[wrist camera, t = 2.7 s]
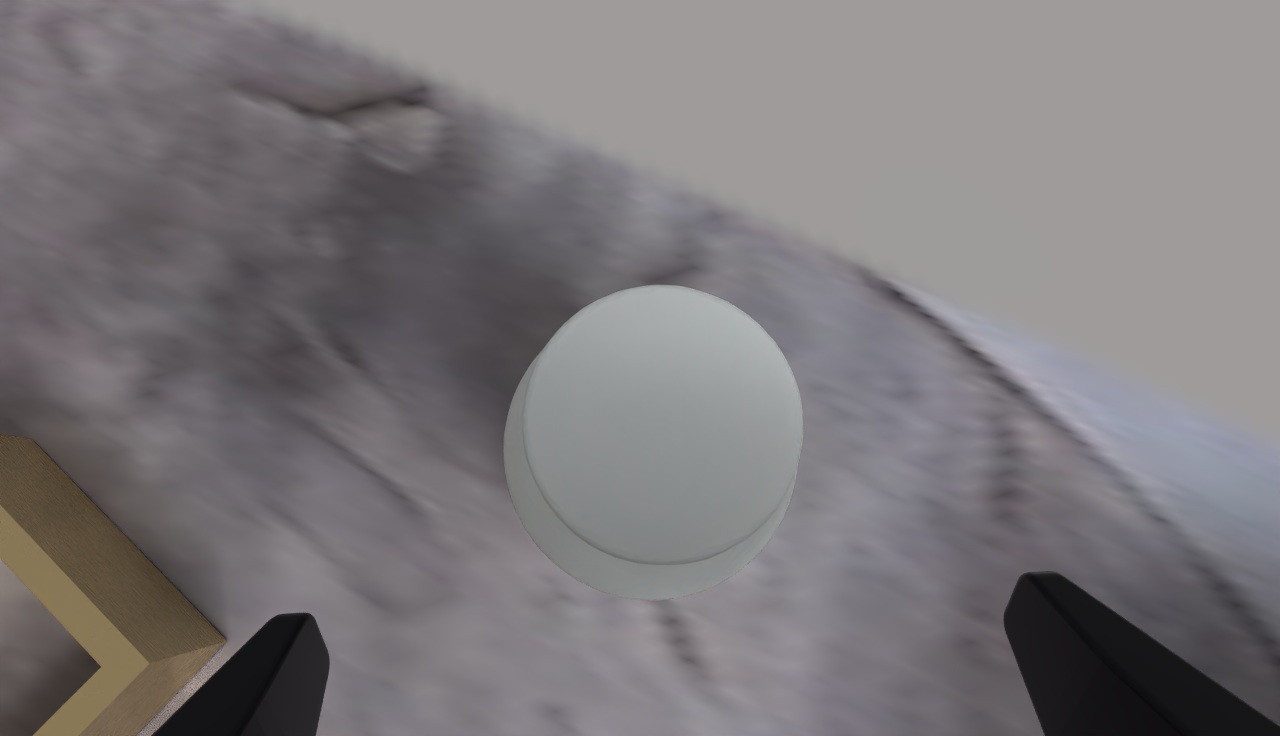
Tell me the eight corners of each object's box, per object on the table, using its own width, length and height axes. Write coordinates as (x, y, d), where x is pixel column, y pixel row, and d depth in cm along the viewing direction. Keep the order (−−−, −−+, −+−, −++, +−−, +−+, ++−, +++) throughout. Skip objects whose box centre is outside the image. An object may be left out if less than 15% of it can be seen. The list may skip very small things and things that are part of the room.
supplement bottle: (638, 620, 18) (664, 719, 9) (499, 475, 19) (383, 420, 9) (774, 473, 19) (931, 419, 10) (637, 341, 20) (659, 172, 10)
